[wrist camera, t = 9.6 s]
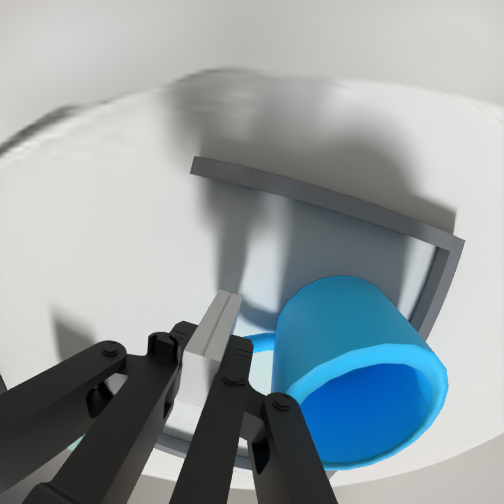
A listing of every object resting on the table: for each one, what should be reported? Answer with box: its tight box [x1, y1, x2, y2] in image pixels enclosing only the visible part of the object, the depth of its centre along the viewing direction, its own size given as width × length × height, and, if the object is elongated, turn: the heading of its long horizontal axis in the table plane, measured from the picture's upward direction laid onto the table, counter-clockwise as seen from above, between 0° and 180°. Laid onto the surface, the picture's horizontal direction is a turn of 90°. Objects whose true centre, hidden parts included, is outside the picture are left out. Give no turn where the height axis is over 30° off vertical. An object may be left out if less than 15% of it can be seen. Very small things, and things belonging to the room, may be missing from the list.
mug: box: [243, 275, 448, 471], centre depth 14 cm, size 12×8×8 cm
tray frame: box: [154, 156, 465, 480], centre depth 18 cm, size 17×25×2 cm
